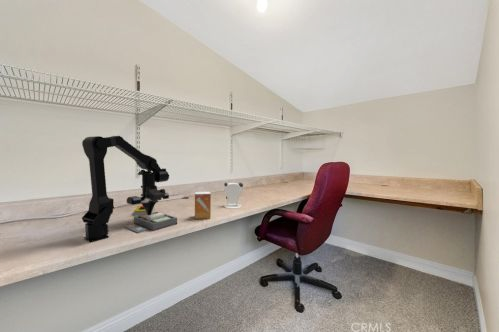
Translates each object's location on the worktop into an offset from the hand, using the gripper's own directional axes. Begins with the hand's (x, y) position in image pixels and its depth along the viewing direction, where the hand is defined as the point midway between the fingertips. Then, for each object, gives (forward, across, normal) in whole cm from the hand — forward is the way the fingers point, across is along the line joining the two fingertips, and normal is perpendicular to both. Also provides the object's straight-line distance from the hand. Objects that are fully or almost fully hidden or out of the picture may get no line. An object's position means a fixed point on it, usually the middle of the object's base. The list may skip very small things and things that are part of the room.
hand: (149, 215), depth 109 cm
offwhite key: (+1, 0, -5) cm, 5 cm away
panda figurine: (+3, +49, -12) cm, 51 cm away
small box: (+3, +21, -15) cm, 26 cm away
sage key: (+2, 0, -11) cm, 11 cm away
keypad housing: (+3, 0, -5) cm, 6 cm away
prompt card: (+3, -9, -5) cm, 11 cm away
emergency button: (+4, +7, +18) cm, 19 cm away
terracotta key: (+2, 0, 0) cm, 2 cm away
